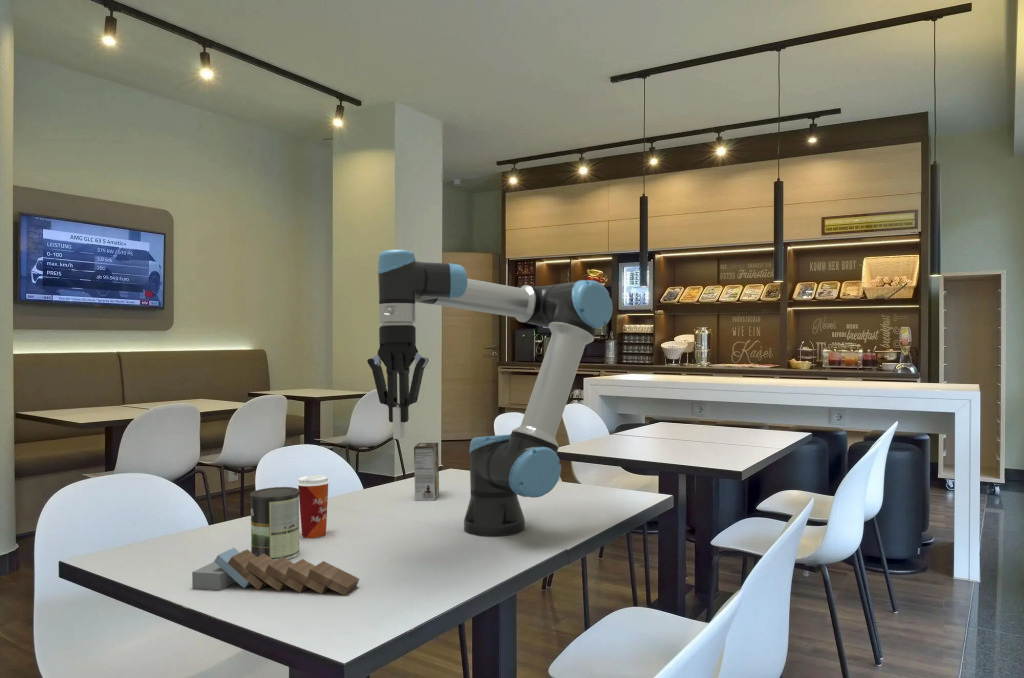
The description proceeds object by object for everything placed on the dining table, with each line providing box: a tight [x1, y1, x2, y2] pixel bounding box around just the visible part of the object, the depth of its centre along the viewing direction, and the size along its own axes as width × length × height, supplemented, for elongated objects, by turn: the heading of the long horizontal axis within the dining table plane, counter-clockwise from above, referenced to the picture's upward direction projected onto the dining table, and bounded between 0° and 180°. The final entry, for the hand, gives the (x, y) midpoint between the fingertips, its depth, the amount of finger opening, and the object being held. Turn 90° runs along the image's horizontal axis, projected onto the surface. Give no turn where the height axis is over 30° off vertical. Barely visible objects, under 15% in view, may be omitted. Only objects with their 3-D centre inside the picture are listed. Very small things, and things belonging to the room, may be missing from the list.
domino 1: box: [213, 547, 252, 589], centre depth 135 cm, size 2×5×8 cm
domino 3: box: [246, 554, 289, 592], centre depth 133 cm, size 2×5×8 cm
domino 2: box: [228, 549, 269, 591], centre depth 134 cm, size 2×5×8 cm
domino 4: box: [265, 557, 309, 594], centre depth 133 cm, size 2×5×8 cm
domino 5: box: [286, 558, 331, 595], centre depth 132 cm, size 2×5×8 cm
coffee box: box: [413, 442, 440, 502], centre depth 211 cm, size 9×6×16 cm
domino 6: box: [308, 560, 360, 597], centre depth 131 cm, size 2×5×8 cm
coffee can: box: [249, 486, 301, 561], centre depth 153 cm, size 10×10×14 cm
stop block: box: [191, 561, 237, 591], centre depth 136 cm, size 6×8×3 cm
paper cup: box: [296, 474, 331, 539], centre depth 170 cm, size 8×8×14 cm
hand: (399, 438), depth 145 cm, fingers closed
